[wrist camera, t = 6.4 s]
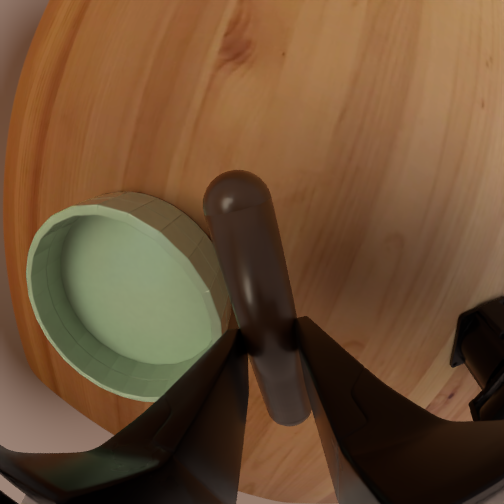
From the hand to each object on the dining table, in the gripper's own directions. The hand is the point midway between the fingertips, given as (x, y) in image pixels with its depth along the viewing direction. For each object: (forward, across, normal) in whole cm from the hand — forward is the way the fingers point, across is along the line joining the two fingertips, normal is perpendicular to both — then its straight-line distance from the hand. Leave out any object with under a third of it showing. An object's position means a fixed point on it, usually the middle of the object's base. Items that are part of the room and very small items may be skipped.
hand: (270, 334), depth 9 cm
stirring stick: (+1, 0, 0) cm, 1 cm away
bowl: (+10, +11, +2) cm, 15 cm away
